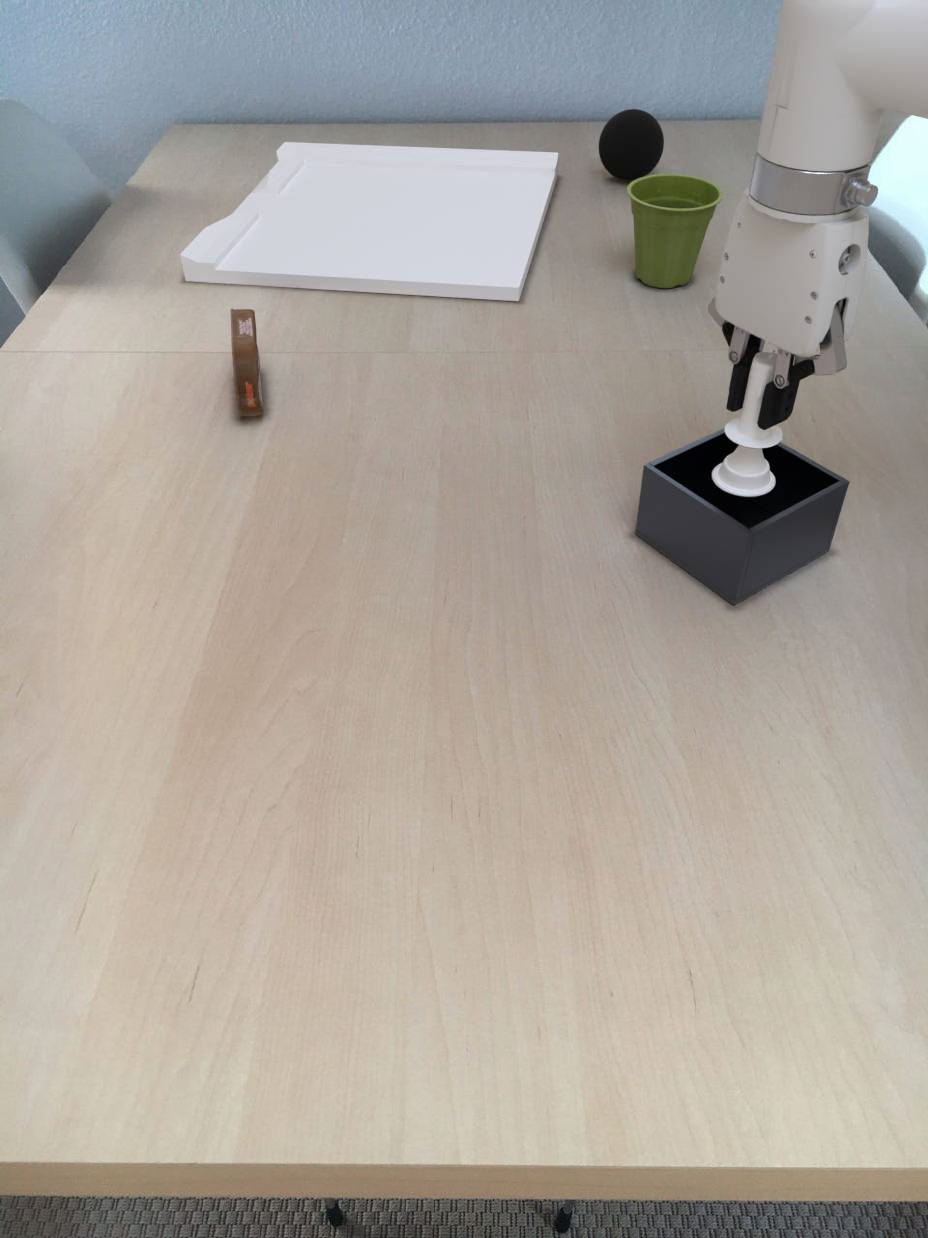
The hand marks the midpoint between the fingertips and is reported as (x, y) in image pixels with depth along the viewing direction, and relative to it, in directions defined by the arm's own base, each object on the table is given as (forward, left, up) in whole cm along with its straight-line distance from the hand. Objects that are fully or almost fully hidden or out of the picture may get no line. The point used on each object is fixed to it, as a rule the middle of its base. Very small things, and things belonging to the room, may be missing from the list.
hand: (757, 412), depth 80 cm
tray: (-15, -82, -14) cm, 84 cm away
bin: (0, 0, -13) cm, 13 cm away
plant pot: (-34, -44, -14) cm, 57 cm away
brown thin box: (+23, -50, -14) cm, 57 cm away
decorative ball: (-55, -74, -14) cm, 93 cm away
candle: (0, 0, -7) cm, 7 cm away
